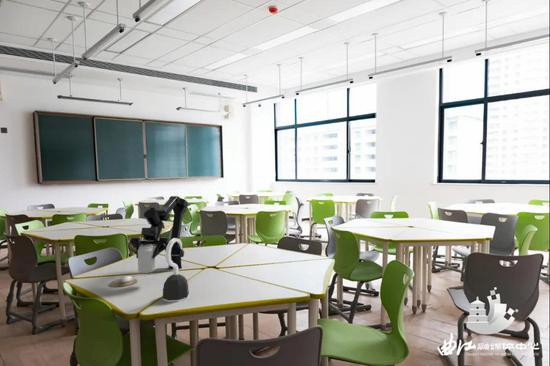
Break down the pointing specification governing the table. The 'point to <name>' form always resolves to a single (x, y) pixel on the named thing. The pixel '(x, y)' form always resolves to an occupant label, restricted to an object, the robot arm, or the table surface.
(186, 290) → the hook
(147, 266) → the can
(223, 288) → the table surface
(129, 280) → the stub stand
